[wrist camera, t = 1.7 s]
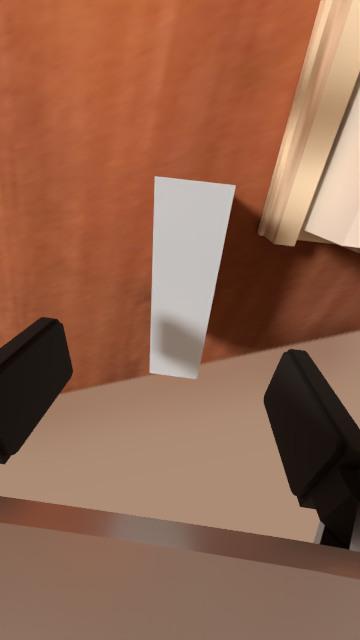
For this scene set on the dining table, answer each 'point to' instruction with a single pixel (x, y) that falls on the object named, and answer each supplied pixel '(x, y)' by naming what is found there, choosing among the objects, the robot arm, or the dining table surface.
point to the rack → (313, 121)
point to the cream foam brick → (340, 183)
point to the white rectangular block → (185, 269)
